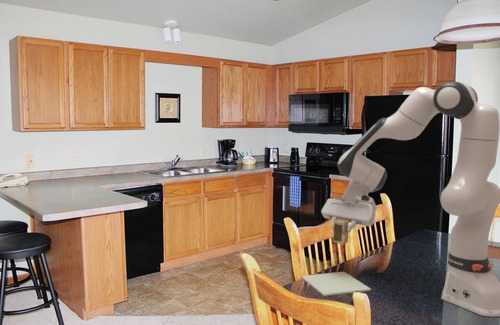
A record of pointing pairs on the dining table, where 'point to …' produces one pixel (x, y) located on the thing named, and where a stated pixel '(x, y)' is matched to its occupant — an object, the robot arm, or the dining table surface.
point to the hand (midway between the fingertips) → (340, 230)
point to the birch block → (340, 231)
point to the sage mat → (335, 283)
